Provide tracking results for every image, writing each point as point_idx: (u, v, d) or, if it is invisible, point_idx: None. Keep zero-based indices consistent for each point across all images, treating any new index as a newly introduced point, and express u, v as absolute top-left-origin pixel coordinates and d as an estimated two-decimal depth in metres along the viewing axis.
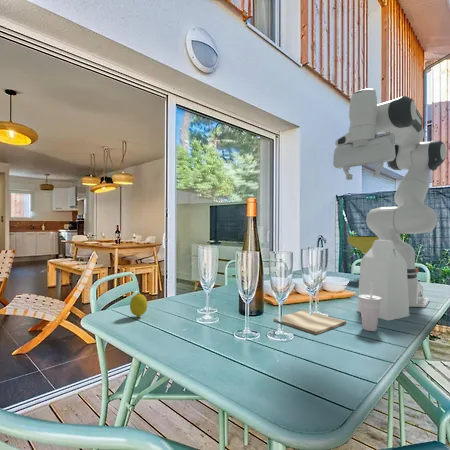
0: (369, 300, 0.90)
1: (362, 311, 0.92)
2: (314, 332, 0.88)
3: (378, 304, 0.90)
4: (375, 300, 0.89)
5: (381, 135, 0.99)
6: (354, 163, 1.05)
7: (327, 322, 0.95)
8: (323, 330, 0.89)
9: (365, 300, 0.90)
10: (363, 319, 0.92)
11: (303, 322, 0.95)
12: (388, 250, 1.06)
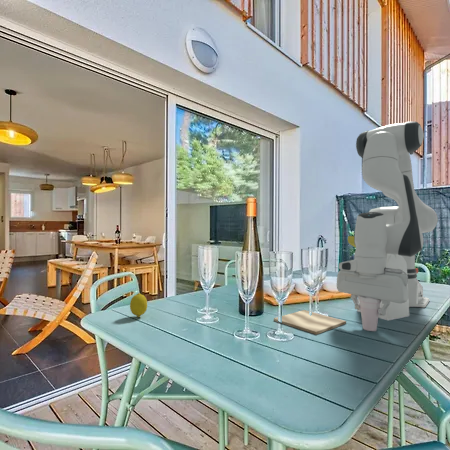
0: (369, 300, 0.90)
1: (362, 311, 0.92)
2: (314, 332, 0.88)
3: (378, 304, 0.90)
4: (375, 300, 0.89)
5: (392, 271, 0.87)
6: (360, 294, 0.93)
7: (327, 322, 0.95)
8: (323, 330, 0.89)
9: (365, 300, 0.90)
10: (363, 319, 0.92)
11: (303, 322, 0.95)
12: None
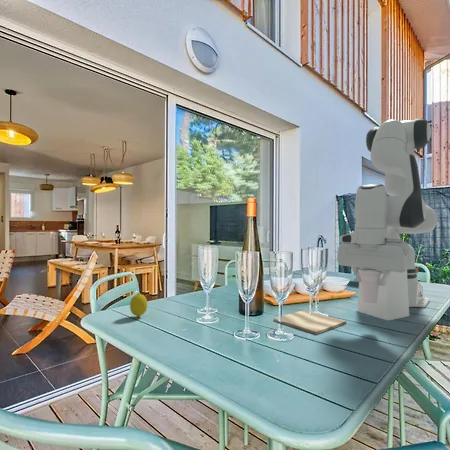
0: (369, 272, 0.90)
1: (362, 284, 0.92)
2: (314, 332, 0.88)
3: (378, 276, 0.90)
4: (375, 272, 0.90)
5: (392, 241, 0.87)
6: (361, 266, 0.93)
7: (327, 322, 0.95)
8: (323, 330, 0.89)
9: (365, 272, 0.91)
10: (364, 292, 0.92)
11: (303, 322, 0.95)
12: None
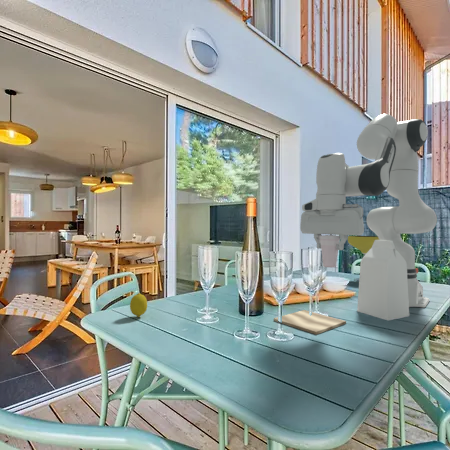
0: (328, 237, 0.93)
1: (322, 249, 0.95)
2: (314, 332, 0.88)
3: (337, 241, 0.94)
4: (334, 237, 0.93)
5: (349, 206, 0.91)
6: (321, 232, 0.96)
7: (327, 322, 0.95)
8: (323, 330, 0.89)
9: (324, 237, 0.94)
10: (323, 257, 0.95)
11: (303, 322, 0.95)
12: (388, 250, 1.06)
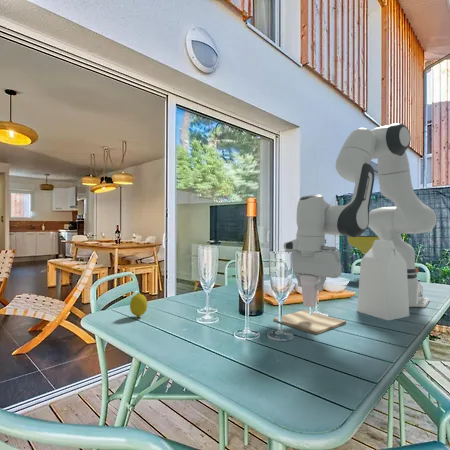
0: (307, 277, 0.96)
1: (302, 288, 0.98)
2: (314, 332, 0.88)
3: (316, 281, 0.96)
4: (312, 277, 0.95)
5: (327, 248, 0.93)
6: (301, 272, 0.99)
7: (327, 322, 0.95)
8: (323, 330, 0.89)
9: (304, 278, 0.96)
10: (303, 296, 0.98)
11: (303, 322, 0.95)
12: (388, 250, 1.06)
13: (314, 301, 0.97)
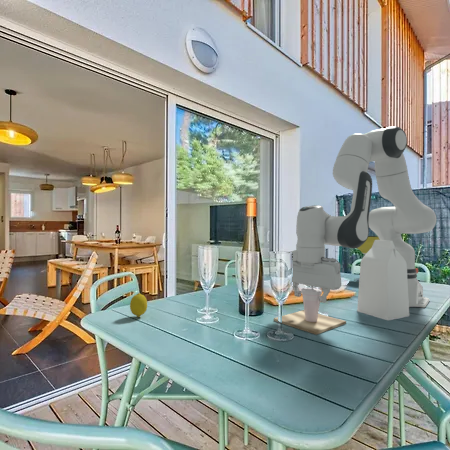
0: (309, 292, 0.95)
1: (304, 303, 0.98)
2: (314, 332, 0.88)
3: (318, 296, 0.96)
4: (314, 292, 0.95)
5: (327, 260, 0.93)
6: (301, 283, 0.99)
7: (327, 322, 0.95)
8: (323, 330, 0.89)
9: (305, 292, 0.96)
10: (305, 311, 0.98)
11: (303, 322, 0.95)
12: (388, 250, 1.06)
13: (316, 316, 0.96)
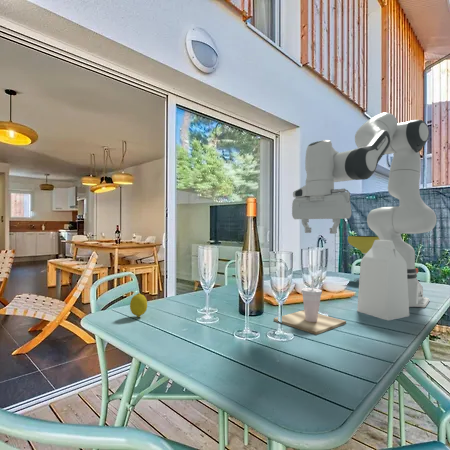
0: (309, 292, 0.95)
1: (304, 303, 0.98)
2: (314, 332, 0.88)
3: (318, 296, 0.96)
4: (314, 292, 0.95)
5: (336, 191, 0.95)
6: (311, 217, 1.01)
7: (327, 322, 0.95)
8: (323, 330, 0.89)
9: (306, 292, 0.96)
10: (305, 311, 0.98)
11: (303, 322, 0.95)
12: (388, 250, 1.06)
13: (316, 316, 0.96)
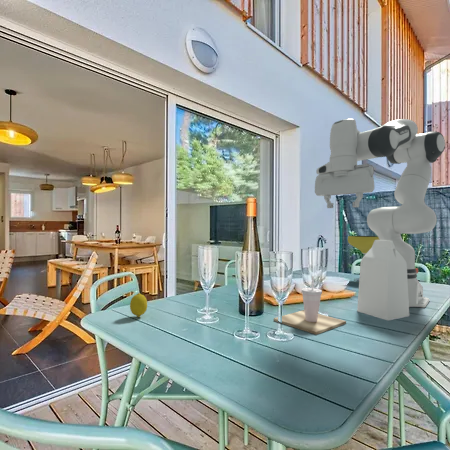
0: (309, 292, 0.95)
1: (304, 303, 0.98)
2: (314, 332, 0.88)
3: (318, 296, 0.96)
4: (314, 292, 0.95)
5: (360, 166, 1.00)
6: (334, 192, 1.05)
7: (327, 322, 0.95)
8: (323, 330, 0.89)
9: (306, 292, 0.96)
10: (305, 311, 0.98)
11: (303, 322, 0.95)
12: (388, 250, 1.06)
13: (316, 316, 0.96)
